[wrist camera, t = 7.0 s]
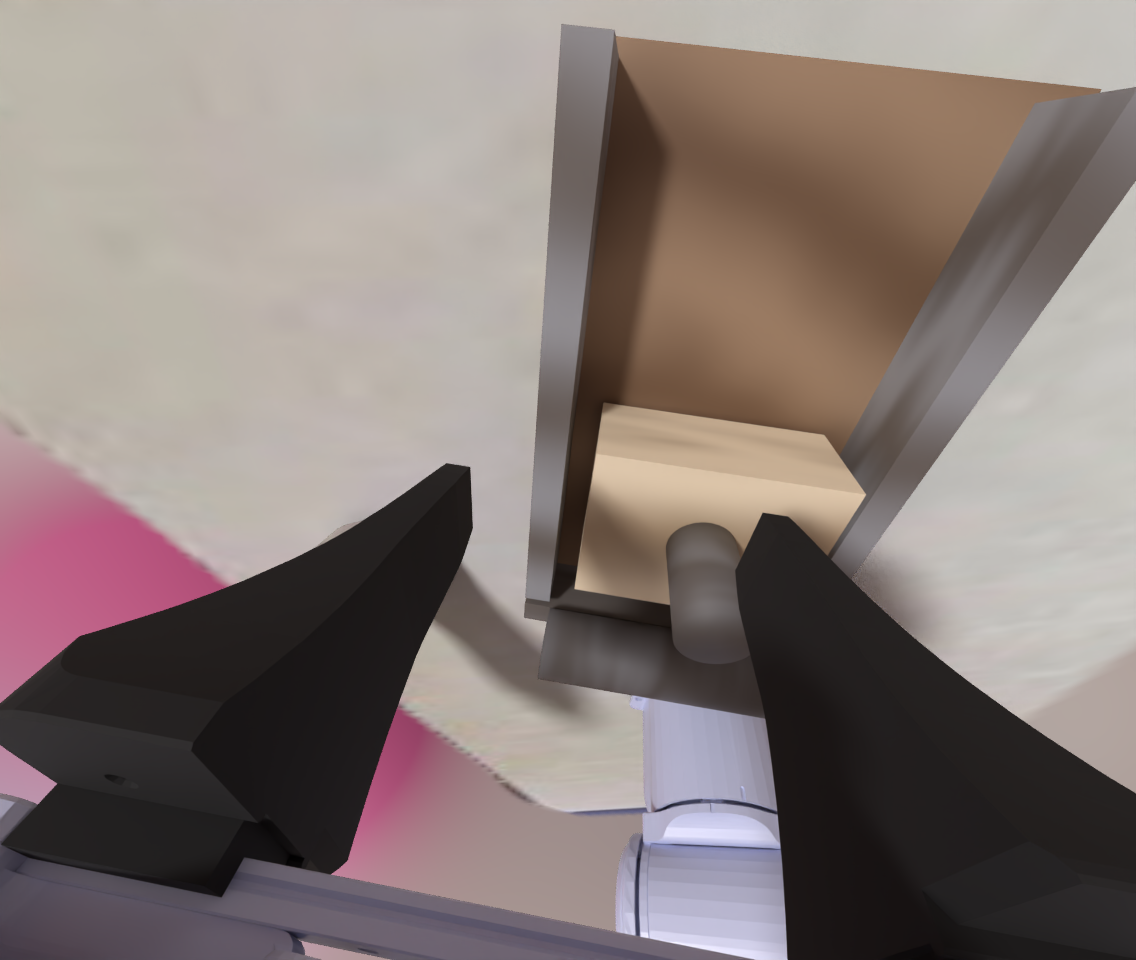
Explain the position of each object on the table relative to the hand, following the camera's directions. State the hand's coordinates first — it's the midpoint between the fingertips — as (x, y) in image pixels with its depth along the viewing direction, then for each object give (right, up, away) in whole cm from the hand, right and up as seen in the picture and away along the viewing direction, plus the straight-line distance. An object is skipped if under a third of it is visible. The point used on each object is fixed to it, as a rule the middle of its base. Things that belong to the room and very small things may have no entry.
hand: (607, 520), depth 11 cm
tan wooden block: (+5, +1, +9) cm, 10 cm away
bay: (+5, +4, +8) cm, 10 cm away
